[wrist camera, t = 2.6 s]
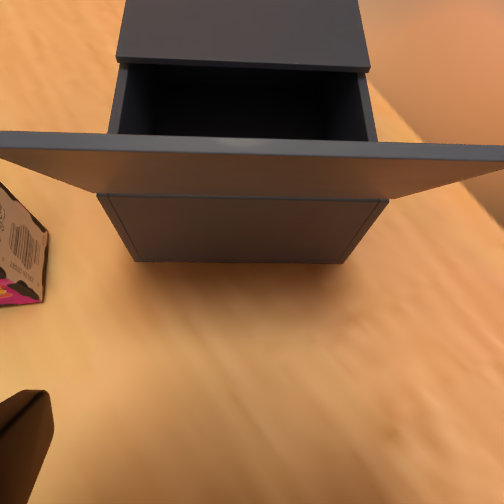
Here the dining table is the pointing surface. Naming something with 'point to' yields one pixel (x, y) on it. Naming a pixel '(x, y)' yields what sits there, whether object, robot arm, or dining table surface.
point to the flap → (246, 164)
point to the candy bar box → (20, 252)
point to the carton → (242, 121)
